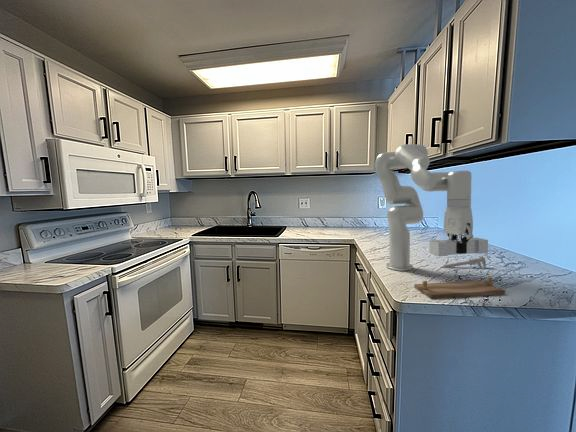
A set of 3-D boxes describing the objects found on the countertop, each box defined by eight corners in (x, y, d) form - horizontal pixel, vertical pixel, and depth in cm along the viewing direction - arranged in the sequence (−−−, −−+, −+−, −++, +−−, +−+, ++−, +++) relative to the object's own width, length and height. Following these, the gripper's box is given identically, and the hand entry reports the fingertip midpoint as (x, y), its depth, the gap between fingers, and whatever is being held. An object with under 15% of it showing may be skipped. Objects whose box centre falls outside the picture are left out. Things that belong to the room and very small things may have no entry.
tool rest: (414, 287, 105) (414, 276, 104) (480, 283, 106) (480, 273, 106) (430, 298, 94) (430, 286, 93) (504, 294, 95) (504, 282, 95)
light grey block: (429, 253, 101) (429, 240, 100) (476, 250, 102) (476, 237, 101) (438, 256, 95) (438, 243, 95) (487, 253, 96) (488, 239, 96)
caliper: (484, 267, 128) (484, 255, 127) (485, 268, 127) (486, 255, 126) (440, 267, 131) (440, 255, 130) (441, 268, 130) (441, 256, 129)
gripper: (435, 203, 105) (434, 248, 107) (465, 205, 89) (464, 257, 90) (453, 203, 105) (452, 247, 107) (486, 204, 89) (485, 256, 91)
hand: (457, 251), depth 99 cm, fingers closed on light grey block, 3 cm apart
